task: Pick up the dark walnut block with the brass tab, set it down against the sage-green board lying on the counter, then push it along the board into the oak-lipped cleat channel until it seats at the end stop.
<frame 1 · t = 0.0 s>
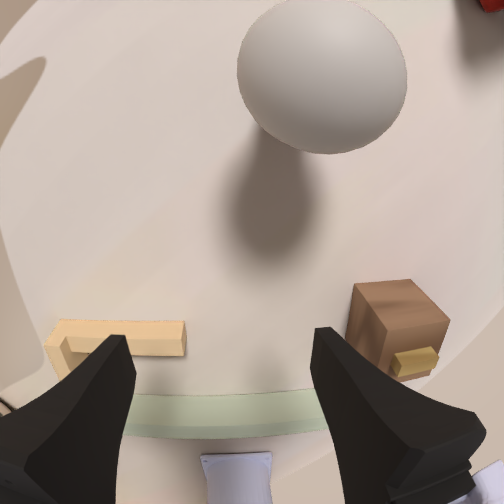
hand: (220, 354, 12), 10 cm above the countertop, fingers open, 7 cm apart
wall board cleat: (228, 369, 25), on the countertop
cabinet block: (377, 308, 24), on the countertop
lightbulb: (283, 92, 17), on the countertop
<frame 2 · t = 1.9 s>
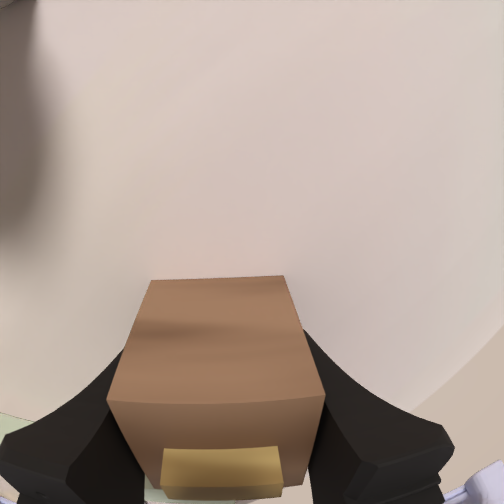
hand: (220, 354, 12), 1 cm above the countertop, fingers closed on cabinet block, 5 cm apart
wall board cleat: (29, 393, 14), on the countertop
cabinet block: (220, 332, 13), on the countertop, touching gripper
when the fingers open (3 cm above the countertop, at t = 5.0 s): cabinet block stays where it is, on the countertop.
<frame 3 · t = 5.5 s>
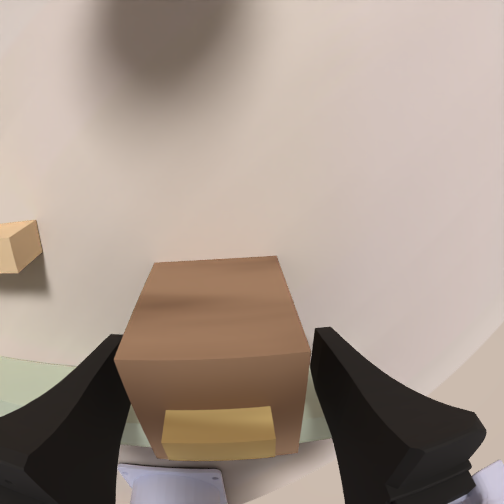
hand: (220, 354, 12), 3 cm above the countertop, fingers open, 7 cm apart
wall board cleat: (114, 320, 14), on the countertop
cabinet block: (219, 310, 14), on the countertop
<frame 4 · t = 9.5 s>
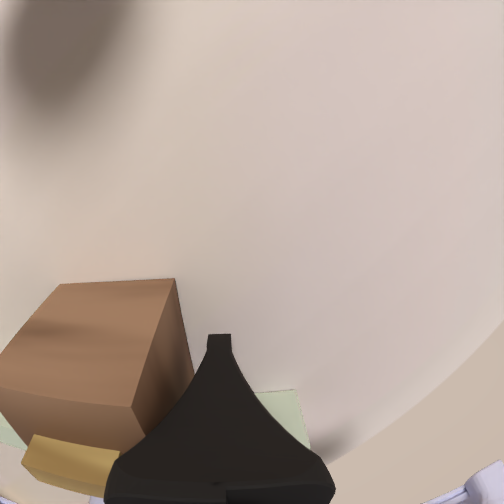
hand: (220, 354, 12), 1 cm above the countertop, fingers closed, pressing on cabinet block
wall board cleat: (40, 339, 12), on the countertop
cabinet block: (127, 334, 12), on the countertop, touching gripper
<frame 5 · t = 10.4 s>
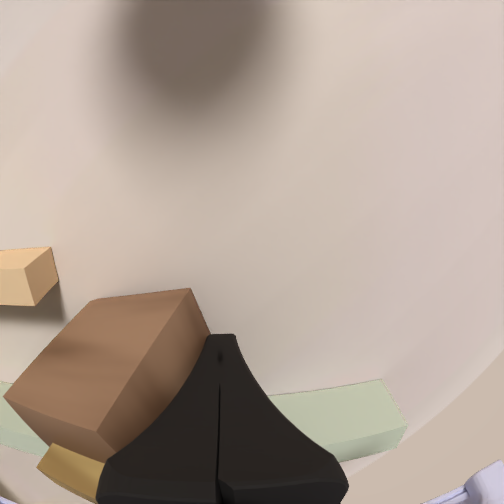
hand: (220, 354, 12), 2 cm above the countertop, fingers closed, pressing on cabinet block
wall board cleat: (138, 351, 13), on the countertop
cabinet block: (161, 345, 12), point 1 cm above the countertop, tilted 18°, touching gripper
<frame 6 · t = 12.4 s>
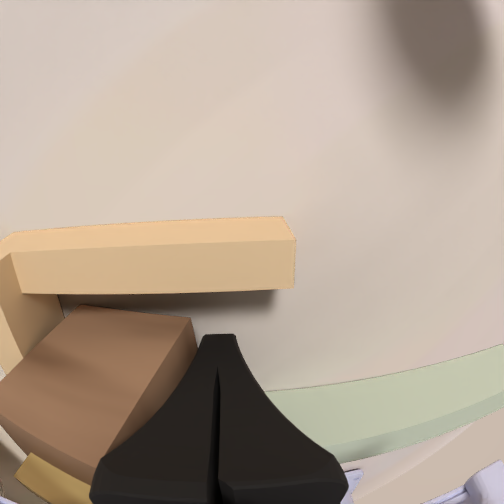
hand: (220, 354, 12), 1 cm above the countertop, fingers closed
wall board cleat: (347, 332, 13), on the countertop
cabinet block: (146, 362, 12), point 1 cm above the countertop, tilted 17°, touching gripper, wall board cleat
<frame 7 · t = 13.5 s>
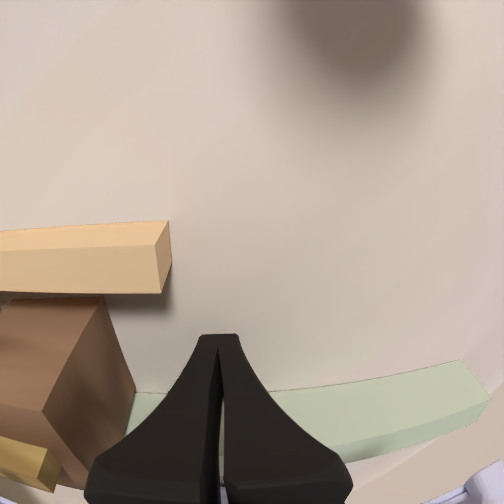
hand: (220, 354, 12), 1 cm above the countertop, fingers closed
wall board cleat: (256, 340, 13), on the countertop
cabinet block: (72, 345, 12), on the countertop
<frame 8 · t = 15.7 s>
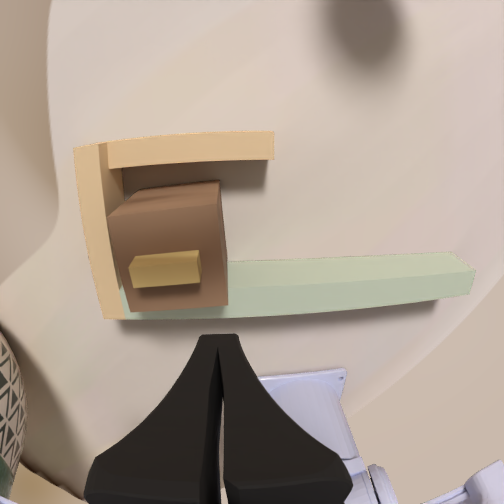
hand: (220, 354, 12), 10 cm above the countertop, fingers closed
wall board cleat: (315, 212, 20), on the countertop
cabinet block: (183, 223, 20), on the countertop
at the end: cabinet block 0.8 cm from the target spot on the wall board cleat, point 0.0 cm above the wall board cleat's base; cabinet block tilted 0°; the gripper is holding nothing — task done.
